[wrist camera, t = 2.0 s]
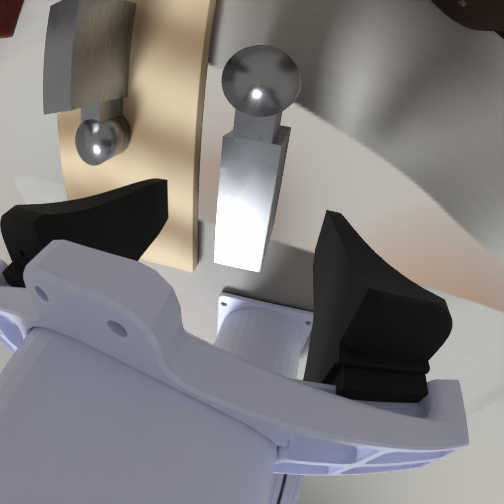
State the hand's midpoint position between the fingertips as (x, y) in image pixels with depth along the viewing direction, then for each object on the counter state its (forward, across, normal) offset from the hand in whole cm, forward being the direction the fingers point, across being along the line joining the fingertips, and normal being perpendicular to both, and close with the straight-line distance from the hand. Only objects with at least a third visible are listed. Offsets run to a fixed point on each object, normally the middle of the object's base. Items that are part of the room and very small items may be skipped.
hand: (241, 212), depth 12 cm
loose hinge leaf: (+5, 0, -2) cm, 6 cm away
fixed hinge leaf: (+4, +10, -6) cm, 12 cm away
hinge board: (+5, +10, -2) cm, 11 cm away
